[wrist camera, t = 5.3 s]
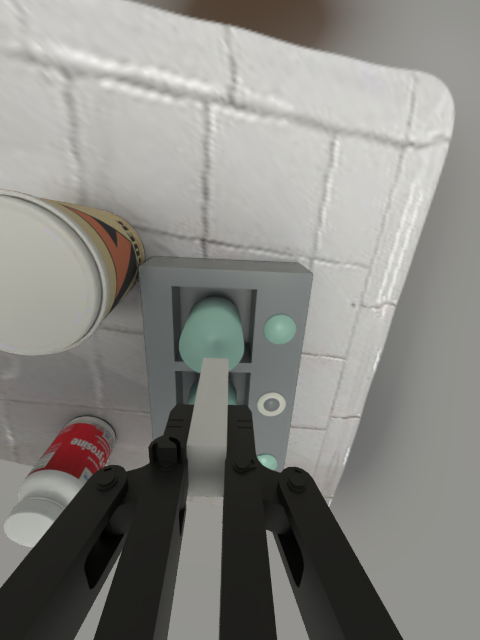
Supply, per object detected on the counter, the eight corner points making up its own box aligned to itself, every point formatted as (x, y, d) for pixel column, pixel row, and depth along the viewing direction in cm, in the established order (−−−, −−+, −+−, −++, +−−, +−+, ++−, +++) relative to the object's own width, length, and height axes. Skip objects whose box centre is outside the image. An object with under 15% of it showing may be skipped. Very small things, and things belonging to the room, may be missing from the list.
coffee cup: (162, 296, 28) (119, 353, 16) (69, 305, 28) (-38, 368, 16) (143, 195, 24) (71, 179, 13) (36, 204, 24) (-128, 196, 13)
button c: (188, 344, 26) (179, 374, 21) (187, 295, 24) (177, 316, 19) (239, 346, 26) (242, 375, 21) (242, 297, 24) (246, 318, 19)
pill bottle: (127, 439, 34) (85, 537, 24) (89, 459, 35) (33, 562, 25) (92, 405, 32) (30, 497, 22) (53, 428, 33) (-24, 525, 23)
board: (166, 458, 36) (157, 497, 31) (154, 256, 26) (137, 266, 21) (273, 458, 37) (280, 496, 32) (298, 262, 27) (314, 274, 22)
